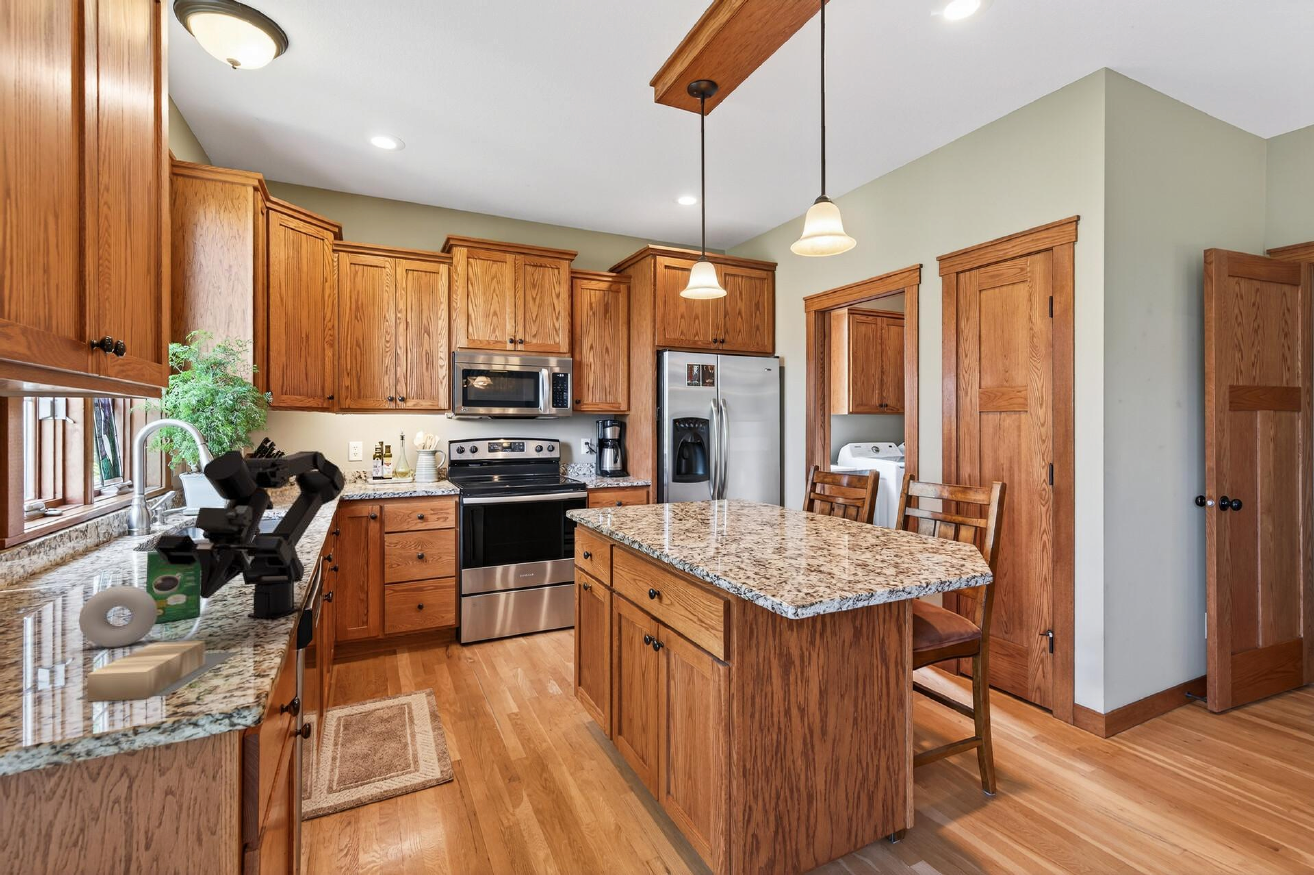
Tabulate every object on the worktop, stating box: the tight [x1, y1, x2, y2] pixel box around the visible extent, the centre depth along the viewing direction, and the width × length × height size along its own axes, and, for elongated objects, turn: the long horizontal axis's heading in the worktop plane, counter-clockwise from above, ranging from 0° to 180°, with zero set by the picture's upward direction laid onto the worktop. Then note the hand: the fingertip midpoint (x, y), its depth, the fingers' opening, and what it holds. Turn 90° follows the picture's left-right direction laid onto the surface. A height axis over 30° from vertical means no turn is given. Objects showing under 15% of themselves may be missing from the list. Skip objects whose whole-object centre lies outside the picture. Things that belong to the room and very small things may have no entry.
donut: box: [78, 584, 158, 648], centre depth 99 cm, size 10×4×10 cm, turn 114°
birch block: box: [86, 640, 206, 702], centre depth 84 cm, size 4×7×12 cm
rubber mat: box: [76, 651, 239, 701], centre depth 87 cm, size 16×11×1 cm
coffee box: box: [145, 550, 201, 624], centre depth 114 cm, size 8×3×13 cm, turn 133°
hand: (204, 597), depth 96 cm, fingers closed
